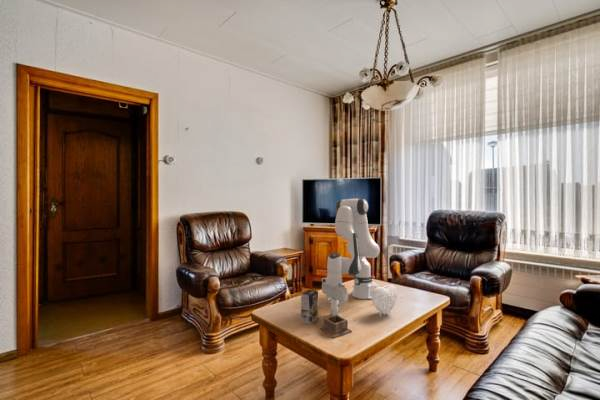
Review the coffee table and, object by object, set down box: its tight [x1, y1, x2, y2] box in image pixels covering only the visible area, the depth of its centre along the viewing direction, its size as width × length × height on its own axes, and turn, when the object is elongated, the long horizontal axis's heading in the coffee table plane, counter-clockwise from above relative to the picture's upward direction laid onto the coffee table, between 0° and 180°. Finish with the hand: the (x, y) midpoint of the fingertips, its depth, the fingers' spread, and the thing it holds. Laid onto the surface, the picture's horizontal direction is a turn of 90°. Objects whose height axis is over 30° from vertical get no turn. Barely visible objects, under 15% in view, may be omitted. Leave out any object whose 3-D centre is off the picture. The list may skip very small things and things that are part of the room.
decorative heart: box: [371, 284, 398, 316], centre depth 177 cm, size 18×11×17 cm, turn 122°
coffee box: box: [300, 289, 319, 325], centre depth 169 cm, size 9×6×16 cm
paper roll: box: [330, 297, 339, 316], centre depth 175 cm, size 4×4×10 cm
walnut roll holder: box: [319, 314, 353, 339], centre depth 156 cm, size 12×12×6 cm
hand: (334, 304), depth 175 cm, fingers open, 8 cm apart
